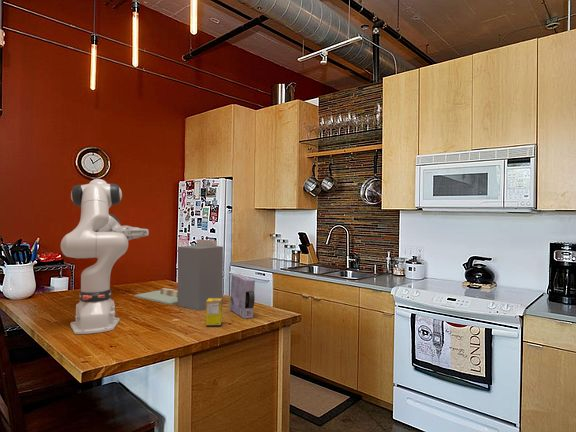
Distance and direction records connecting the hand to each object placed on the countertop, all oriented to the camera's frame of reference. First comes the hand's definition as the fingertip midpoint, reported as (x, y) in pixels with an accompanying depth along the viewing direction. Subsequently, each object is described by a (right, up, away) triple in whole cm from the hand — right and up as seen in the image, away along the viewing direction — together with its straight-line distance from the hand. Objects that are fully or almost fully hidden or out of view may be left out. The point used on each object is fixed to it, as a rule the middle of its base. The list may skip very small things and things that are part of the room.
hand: (138, 232), depth 214 cm
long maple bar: (+18, -34, +1) cm, 38 cm away
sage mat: (+14, -36, +2) cm, 39 cm away
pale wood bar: (+39, -7, -10) cm, 41 cm away
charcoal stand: (+37, -37, -14) cm, 54 cm away
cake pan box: (+61, -37, -31) cm, 78 cm away
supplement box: (+51, -37, -49) cm, 80 cm away
